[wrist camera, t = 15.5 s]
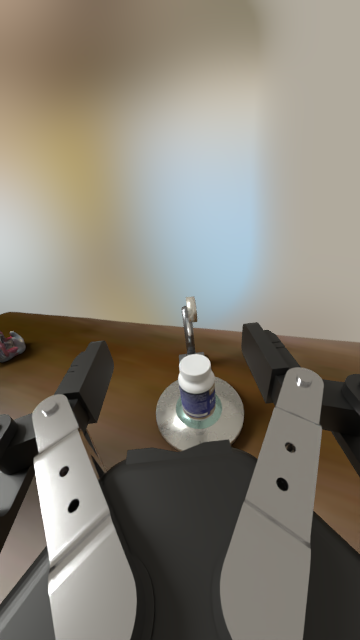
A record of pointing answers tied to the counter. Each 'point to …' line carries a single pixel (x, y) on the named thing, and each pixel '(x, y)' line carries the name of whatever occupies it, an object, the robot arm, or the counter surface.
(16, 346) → the grey and red figurine
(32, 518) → the counter surface
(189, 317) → the dial stand
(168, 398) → the dish
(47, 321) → the counter surface
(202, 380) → the pill bottle
